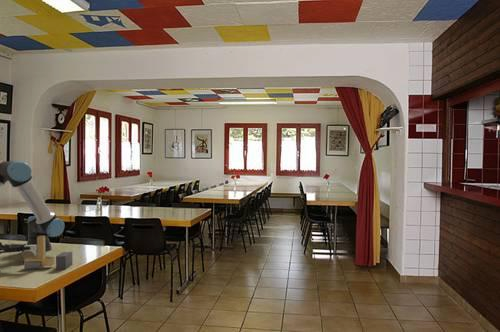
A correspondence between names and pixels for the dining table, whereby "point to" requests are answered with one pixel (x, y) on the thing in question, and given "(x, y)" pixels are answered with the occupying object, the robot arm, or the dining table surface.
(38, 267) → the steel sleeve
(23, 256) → the ceramic mug
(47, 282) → the dining table surface
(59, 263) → the slotted grey block
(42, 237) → the t-shaped wooden piece
